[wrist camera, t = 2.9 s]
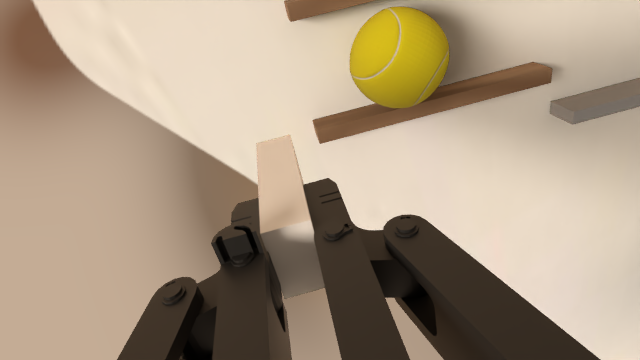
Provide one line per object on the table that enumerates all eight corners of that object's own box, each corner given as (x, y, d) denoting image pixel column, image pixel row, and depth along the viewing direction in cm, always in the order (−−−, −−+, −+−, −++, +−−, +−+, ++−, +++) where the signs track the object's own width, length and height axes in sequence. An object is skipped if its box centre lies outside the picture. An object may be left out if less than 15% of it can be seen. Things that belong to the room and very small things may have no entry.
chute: (532, 75, 35) (551, 82, 32) (315, 132, 34) (320, 143, 32) (540, -65, 29) (563, -67, 27) (283, 0, 29) (286, 3, 27)
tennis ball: (441, 30, 32) (486, 45, 26) (395, 106, 34) (426, 135, 28) (370, -15, 29) (401, -10, 23) (326, 70, 32) (344, 94, 26)
